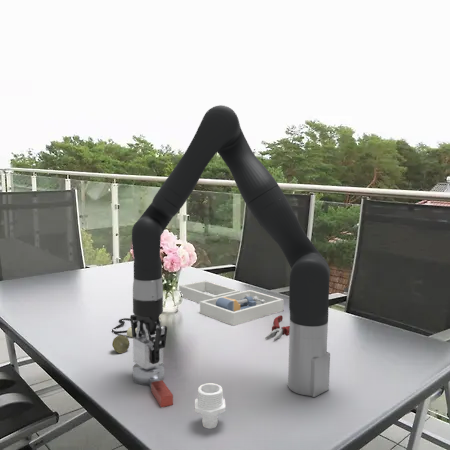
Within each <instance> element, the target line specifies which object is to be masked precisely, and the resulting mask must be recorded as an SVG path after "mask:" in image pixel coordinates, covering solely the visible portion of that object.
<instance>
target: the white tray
mask: <svg viewBox="0 0 450 450" xmlns="http://www.w3.org/2000/svg"><path fill="white" fill-rule="evenodd" d="M246 294H248V295H249V296H251V297H254V296H257V297H258V299H260V300H262V299H264V300H265V303H261V301H258V300H257V301H256V306H253V307H249V308H246V309H242V310H238V311H235V312H233V311H230V310H227V309H224V308H221V307H218V306H216V301H217V299H219V298H221V297H227V298H230V299H235V300H236V301H238V300H241V299H243V298H245V295H246ZM221 297H217V298H213V299H209V300H204V301H200V303H199V314H201V315H203V316H207V317H209V318H212V319H214V320H216V321H220V322H223V323H225V324H228V325H231V326H233V327H234V326H238V325H241V324H245V323H247V322H251V321H255V320H257V319H261V318H265V317H267V316H270V315H274V314H277V313H281V312H283V311H284V304H285V303H284V302H285V301H284V299H283V298H280V297H276V296H272V295H269V294H266V293H262V292H259V291H255V290H252V289H248V290H243V291H240V292H238V293H234V294H230V295H226V296H221Z"/></svg>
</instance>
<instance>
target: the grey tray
mask: <svg viewBox="0 0 450 450" xmlns="http://www.w3.org/2000/svg"><path fill="white" fill-rule="evenodd" d="M178 291H181V293H182V294H183V297H182V298H184V299H187V300H190V301H192V302H195V303H198V304H200V301H204V300H209V299H213V298H217V297H221V296H226V295H230V294H234V293H238V292H241V290H239V289H236V288H232V287H229V286H225V285H222V284H219V283H214V282H212V281H208V280H201V281H196V282H191V283H185V284H181V285H179V289H178Z"/></svg>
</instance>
